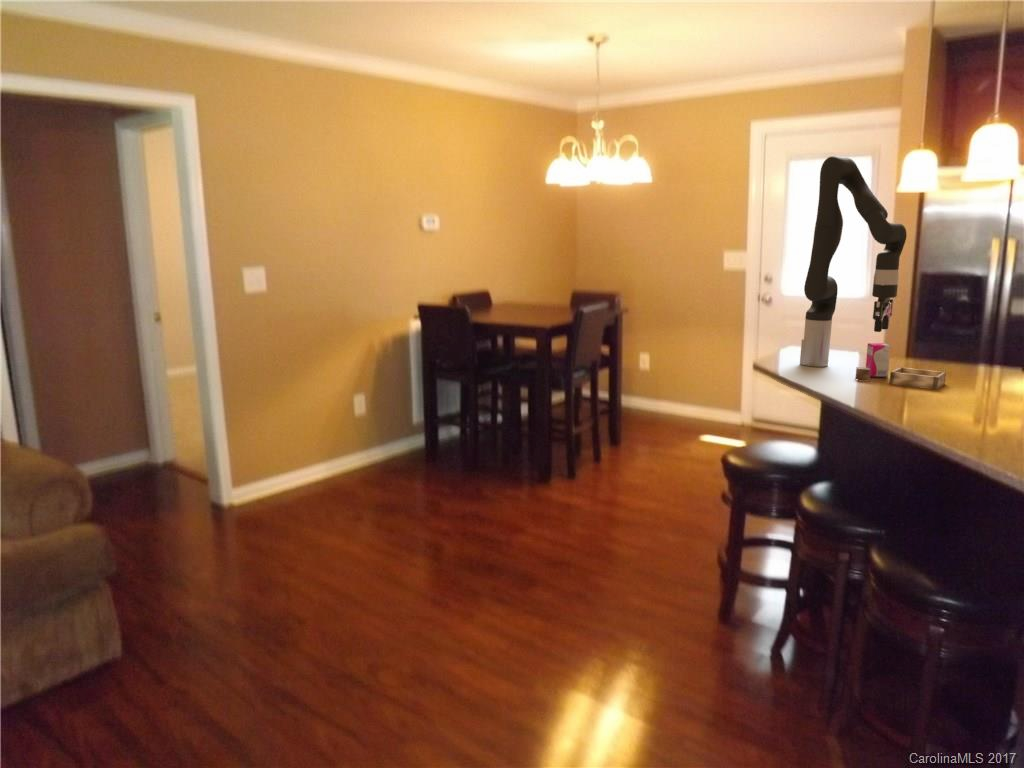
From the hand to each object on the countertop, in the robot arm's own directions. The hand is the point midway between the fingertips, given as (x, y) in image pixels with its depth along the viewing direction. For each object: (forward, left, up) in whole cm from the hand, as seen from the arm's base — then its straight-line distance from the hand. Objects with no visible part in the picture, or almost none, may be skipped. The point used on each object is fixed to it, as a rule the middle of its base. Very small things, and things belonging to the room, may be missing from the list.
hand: (881, 330), depth 258 cm
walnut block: (-2, -9, -16) cm, 19 cm away
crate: (+14, -5, -16) cm, 22 cm away
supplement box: (0, 0, -16) cm, 16 cm away
